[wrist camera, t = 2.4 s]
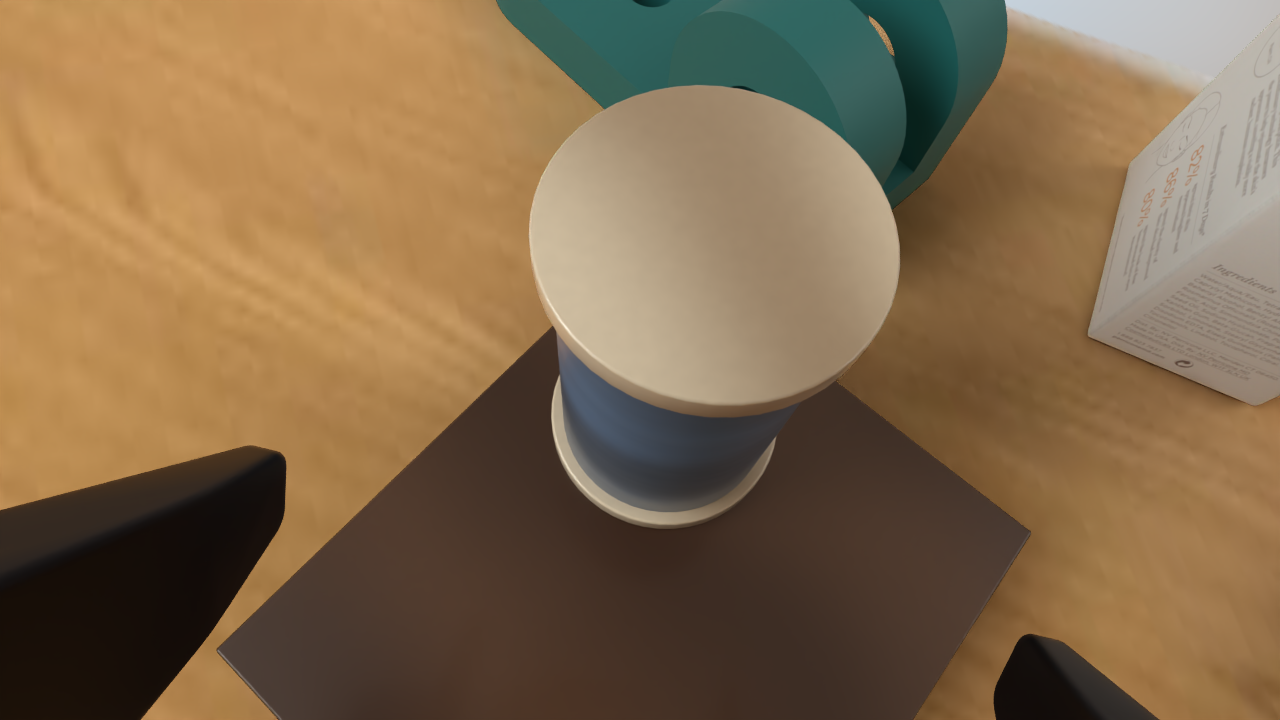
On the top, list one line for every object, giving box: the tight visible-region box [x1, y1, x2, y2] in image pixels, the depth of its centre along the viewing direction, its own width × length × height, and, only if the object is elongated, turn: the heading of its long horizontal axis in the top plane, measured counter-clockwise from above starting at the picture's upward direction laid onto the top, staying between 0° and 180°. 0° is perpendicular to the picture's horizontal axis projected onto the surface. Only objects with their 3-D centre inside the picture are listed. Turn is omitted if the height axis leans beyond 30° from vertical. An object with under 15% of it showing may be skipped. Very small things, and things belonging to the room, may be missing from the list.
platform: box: [217, 326, 1031, 720], centre depth 20 cm, size 15×13×2 cm
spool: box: [529, 85, 900, 529], centre depth 16 cm, size 6×6×9 cm
